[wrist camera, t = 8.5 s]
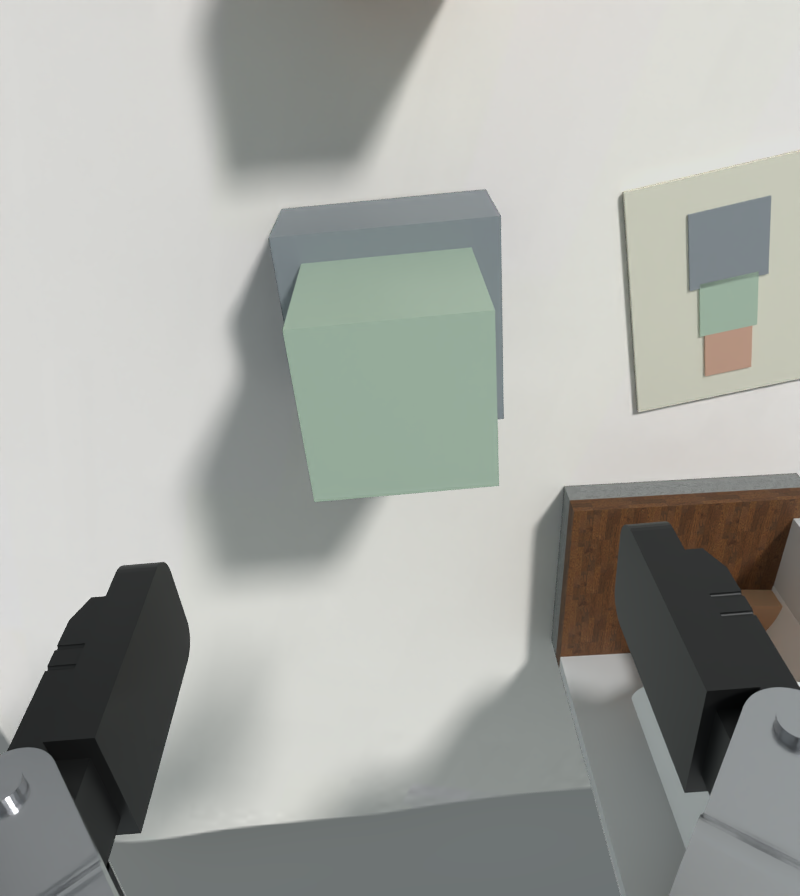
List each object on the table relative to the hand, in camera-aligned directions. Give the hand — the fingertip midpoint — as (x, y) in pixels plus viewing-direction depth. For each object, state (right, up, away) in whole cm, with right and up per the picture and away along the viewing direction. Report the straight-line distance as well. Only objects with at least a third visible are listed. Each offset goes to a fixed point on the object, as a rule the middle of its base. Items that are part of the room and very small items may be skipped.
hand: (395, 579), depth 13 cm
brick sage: (0, +7, +14) cm, 16 cm away
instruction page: (+14, +9, +18) cm, 24 cm away
